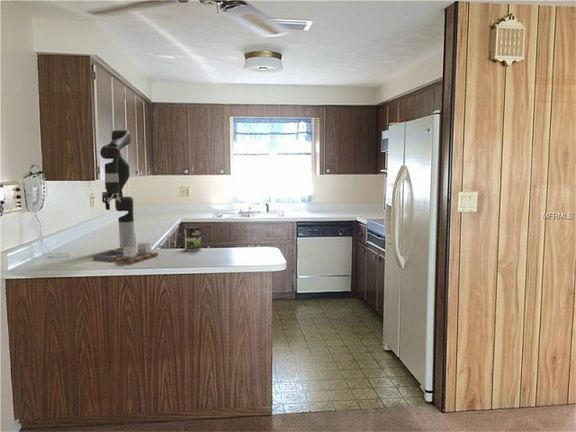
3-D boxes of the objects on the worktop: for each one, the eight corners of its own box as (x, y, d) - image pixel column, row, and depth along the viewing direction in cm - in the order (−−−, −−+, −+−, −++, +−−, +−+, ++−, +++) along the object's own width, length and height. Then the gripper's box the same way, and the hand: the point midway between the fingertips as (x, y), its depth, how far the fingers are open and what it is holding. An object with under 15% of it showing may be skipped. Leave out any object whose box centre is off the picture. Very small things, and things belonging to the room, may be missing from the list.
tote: (113, 255, 280) (112, 250, 280) (134, 257, 274) (133, 251, 274) (93, 261, 266) (92, 255, 265) (115, 263, 260) (114, 257, 259)
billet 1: (128, 259, 264) (128, 245, 263) (136, 260, 261) (136, 246, 261) (123, 261, 260) (123, 246, 259) (131, 262, 258) (131, 247, 257)
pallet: (142, 256, 278) (142, 251, 278) (157, 257, 274) (157, 252, 274) (116, 264, 258) (115, 258, 258) (132, 265, 254) (131, 260, 254)
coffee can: (204, 248, 300) (204, 226, 299) (191, 251, 293) (190, 228, 291) (195, 246, 307) (194, 225, 306) (181, 249, 300) (181, 227, 298)
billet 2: (142, 255, 274) (142, 242, 273) (150, 256, 272) (149, 242, 271) (138, 257, 271) (137, 243, 270) (146, 257, 269) (145, 243, 268)
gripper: (108, 181, 265) (109, 210, 267) (125, 180, 278) (126, 208, 280) (97, 181, 268) (99, 210, 270) (115, 180, 281) (116, 207, 283)
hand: (113, 209), depth 275 cm, fingers open, 8 cm apart
